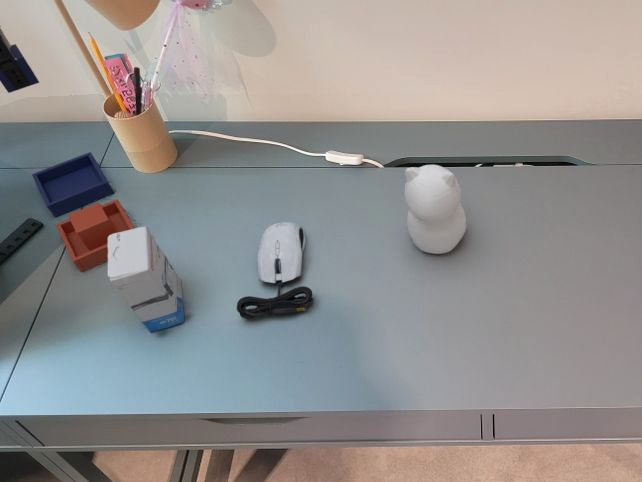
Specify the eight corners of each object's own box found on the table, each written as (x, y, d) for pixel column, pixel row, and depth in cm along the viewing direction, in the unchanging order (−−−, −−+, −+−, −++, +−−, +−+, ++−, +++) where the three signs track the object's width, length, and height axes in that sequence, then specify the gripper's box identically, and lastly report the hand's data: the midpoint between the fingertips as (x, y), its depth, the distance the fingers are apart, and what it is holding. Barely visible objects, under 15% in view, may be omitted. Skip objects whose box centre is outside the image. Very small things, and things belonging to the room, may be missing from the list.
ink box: (185, 324, 89) (150, 270, 80) (147, 334, 88) (107, 281, 79) (181, 278, 94) (148, 223, 85) (145, 287, 93) (107, 232, 84)
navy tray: (55, 217, 101) (46, 206, 100) (39, 185, 106) (31, 174, 104) (114, 193, 105) (107, 181, 103) (97, 163, 110) (90, 151, 108)
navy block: (8, 93, 99) (-10, 67, 95) (1, 79, 101) (-17, 53, 98) (39, 82, 101) (23, 57, 97) (31, 69, 103) (15, 43, 99)
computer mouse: (315, 222, 102) (310, 204, 98) (314, 315, 90) (308, 298, 87) (251, 229, 100) (243, 211, 97) (241, 324, 89) (232, 307, 86)
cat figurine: (401, 260, 97) (389, 187, 85) (420, 202, 105) (411, 128, 93) (460, 267, 96) (455, 194, 84) (474, 208, 104) (472, 134, 92)
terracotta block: (91, 253, 96) (76, 232, 93) (82, 235, 99) (67, 215, 95) (122, 239, 98) (108, 219, 95) (112, 222, 100) (98, 202, 97)
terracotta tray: (81, 272, 95) (72, 261, 93) (63, 235, 99) (55, 224, 97) (143, 244, 98) (137, 233, 96) (124, 210, 103) (117, 198, 101)
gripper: (-11, -18, 85) (57, 91, 99) (-36, -58, 92) (31, 49, 105) (-75, 0, 82) (4, 110, 96) (-96, -43, 89) (-19, 65, 103)
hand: (18, 77), depth 101 cm, fingers closed on navy block, 4 cm apart
